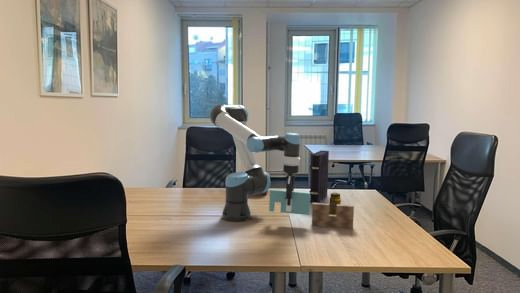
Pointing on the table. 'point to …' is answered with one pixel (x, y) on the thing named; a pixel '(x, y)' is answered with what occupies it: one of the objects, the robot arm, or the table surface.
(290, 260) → the table surface
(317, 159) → the book
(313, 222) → the walnut plate
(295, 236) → the table surface
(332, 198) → the condiment
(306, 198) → the teal plate
